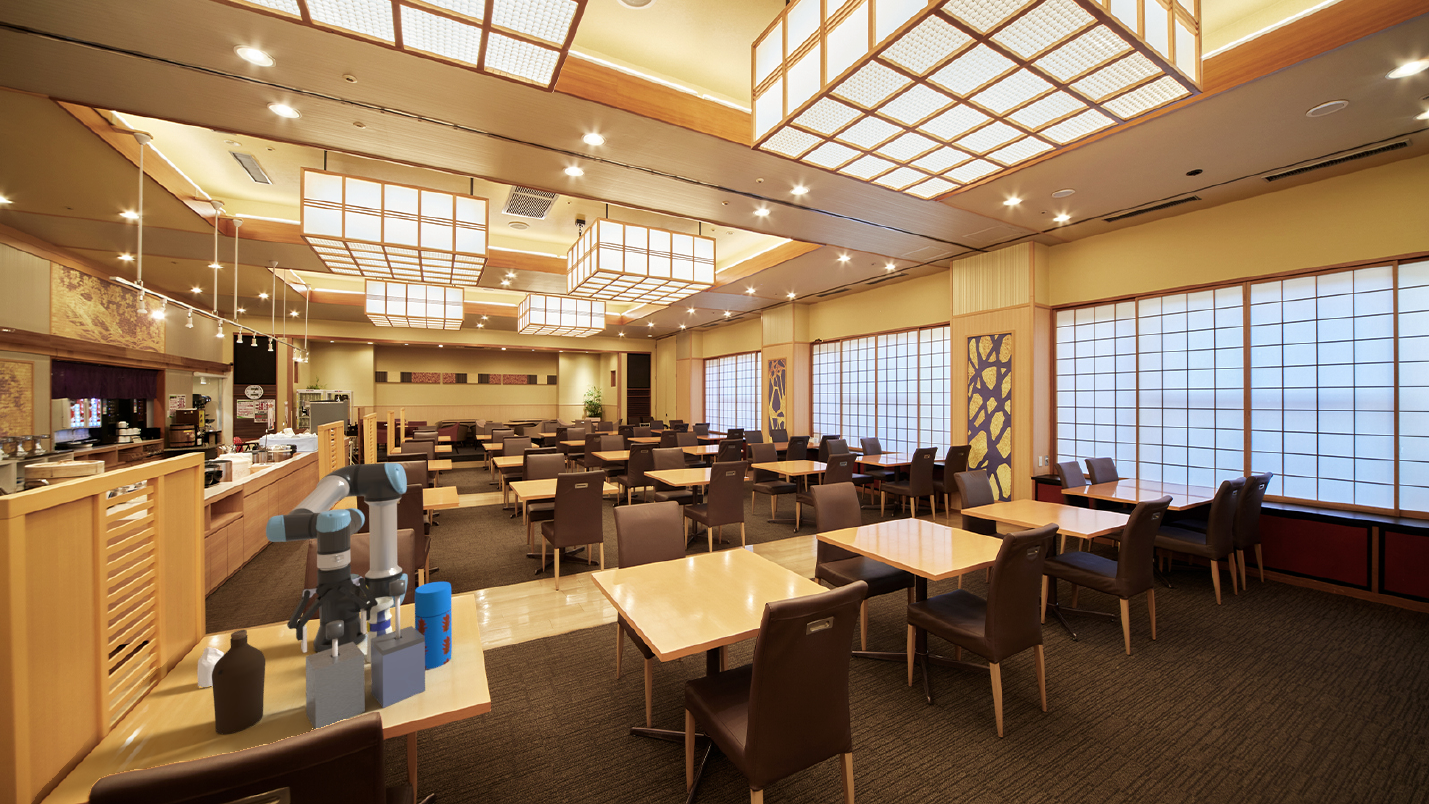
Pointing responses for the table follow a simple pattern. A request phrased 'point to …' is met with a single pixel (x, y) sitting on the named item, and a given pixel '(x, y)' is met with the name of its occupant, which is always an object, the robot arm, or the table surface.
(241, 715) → the olive oil
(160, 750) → the table surface
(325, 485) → the robot arm
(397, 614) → the gray knob plunger
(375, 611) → the water bottle
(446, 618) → the thermos
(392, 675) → the indigo press
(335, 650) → the steel plunger
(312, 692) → the block
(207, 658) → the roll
